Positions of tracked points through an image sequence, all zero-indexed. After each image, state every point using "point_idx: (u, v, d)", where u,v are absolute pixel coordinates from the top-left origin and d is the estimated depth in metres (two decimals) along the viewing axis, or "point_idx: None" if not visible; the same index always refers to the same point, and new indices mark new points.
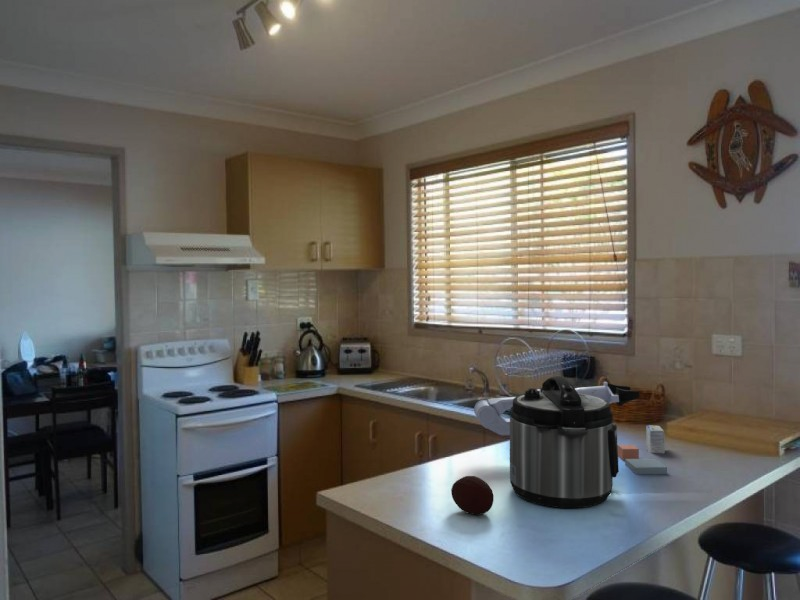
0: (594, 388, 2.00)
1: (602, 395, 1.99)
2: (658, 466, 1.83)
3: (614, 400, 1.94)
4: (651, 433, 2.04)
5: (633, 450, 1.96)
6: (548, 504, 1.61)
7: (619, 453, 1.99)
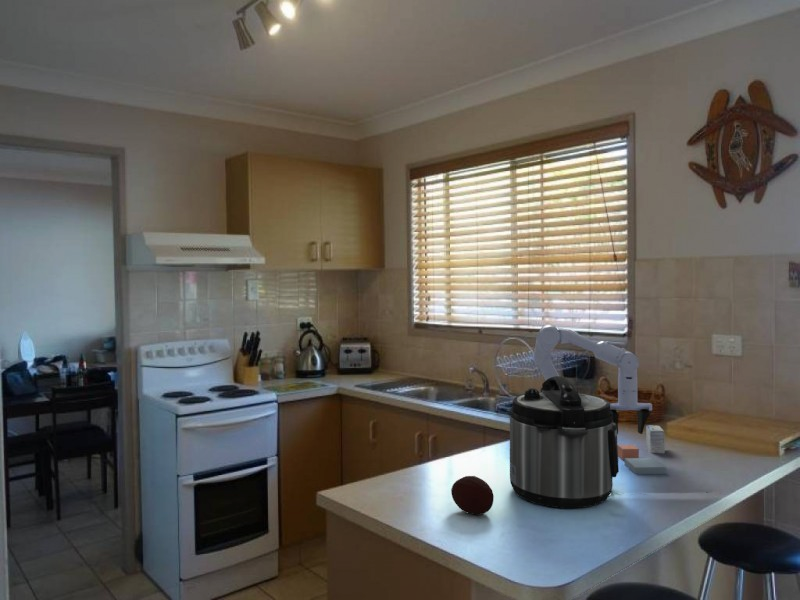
0: (625, 394, 1.96)
1: (619, 399, 1.98)
2: (658, 466, 1.84)
3: None
4: (651, 433, 2.04)
5: (633, 450, 1.96)
6: (548, 504, 1.61)
7: (619, 453, 1.99)
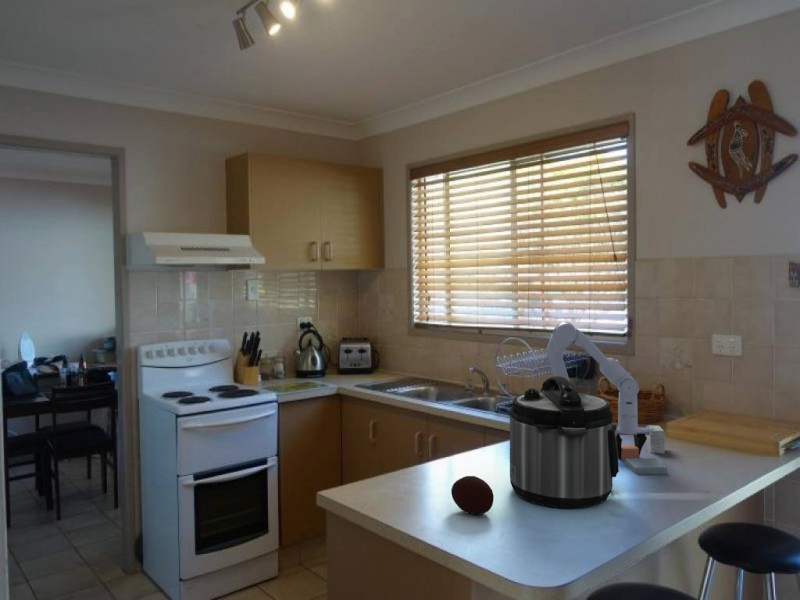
0: (625, 419, 1.96)
1: (619, 423, 1.98)
2: (658, 466, 1.84)
3: None
4: None
5: (633, 450, 1.96)
6: (548, 504, 1.61)
7: None
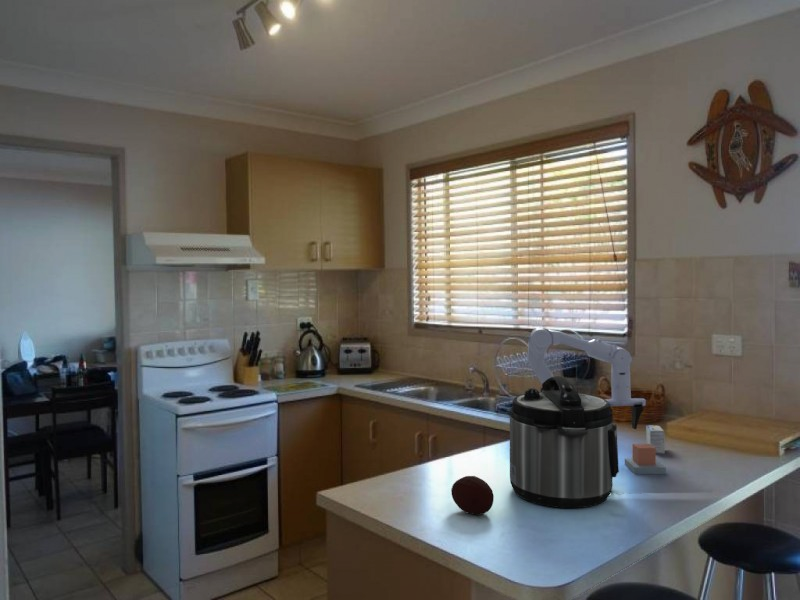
0: (618, 389, 1.97)
1: (612, 395, 1.99)
2: (657, 466, 1.83)
3: None
4: (651, 433, 2.04)
5: (650, 449, 1.85)
6: (548, 504, 1.61)
7: (634, 452, 1.88)
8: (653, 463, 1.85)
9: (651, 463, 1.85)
